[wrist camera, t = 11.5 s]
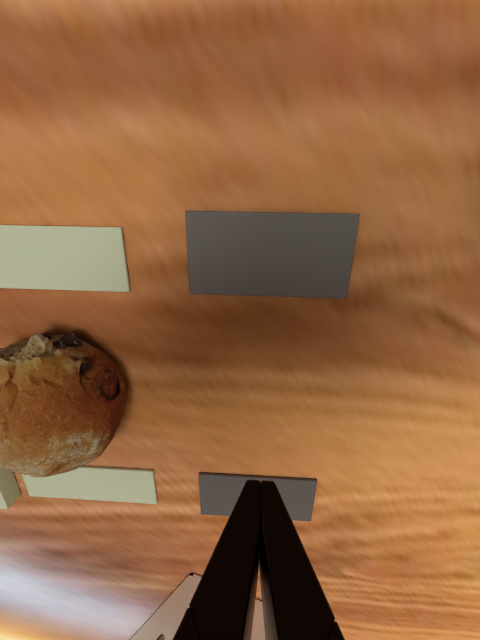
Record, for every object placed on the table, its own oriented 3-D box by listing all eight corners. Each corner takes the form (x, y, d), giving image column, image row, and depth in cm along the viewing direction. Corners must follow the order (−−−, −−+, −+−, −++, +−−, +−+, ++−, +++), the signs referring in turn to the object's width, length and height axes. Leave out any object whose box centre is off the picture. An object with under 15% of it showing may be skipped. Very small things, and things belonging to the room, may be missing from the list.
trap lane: (358, 213, 16) (368, 214, 15) (310, 518, 26) (313, 536, 24) (-103, 205, 17) (-134, 205, 16) (13, 500, 27) (0, 515, 26)
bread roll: (29, 359, 25) (-63, 444, 20) (25, 290, 18) (-120, 394, 13) (127, 413, 27) (67, 505, 22) (158, 370, 20) (81, 491, 14)
